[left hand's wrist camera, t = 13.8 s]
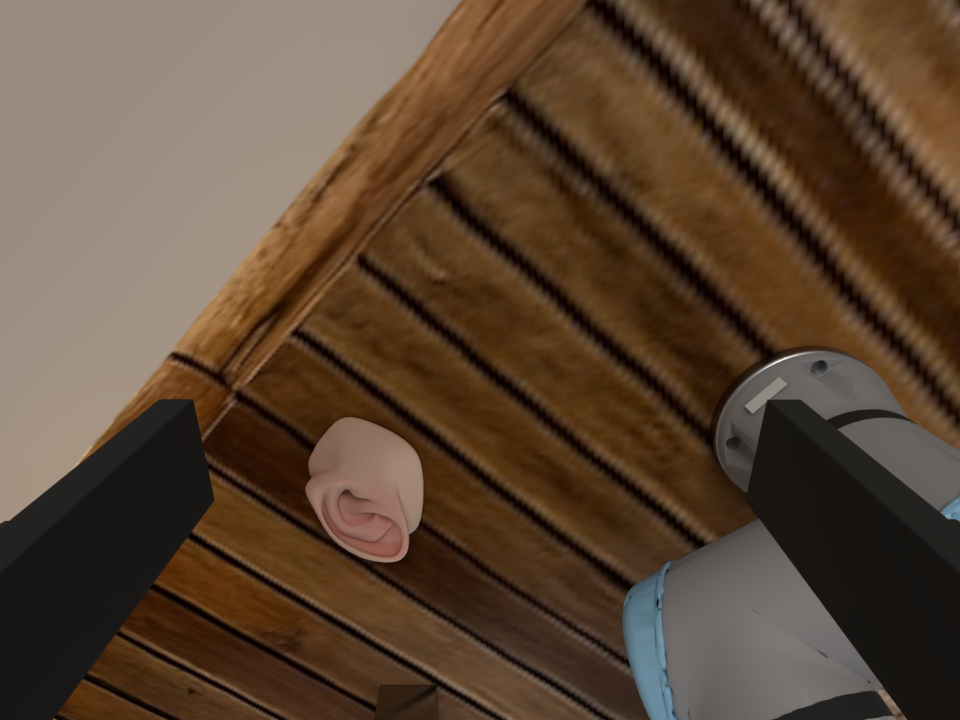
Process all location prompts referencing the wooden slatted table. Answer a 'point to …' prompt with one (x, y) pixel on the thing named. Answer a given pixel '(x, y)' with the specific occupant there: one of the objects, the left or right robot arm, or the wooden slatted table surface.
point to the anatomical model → (366, 489)
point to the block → (407, 702)
